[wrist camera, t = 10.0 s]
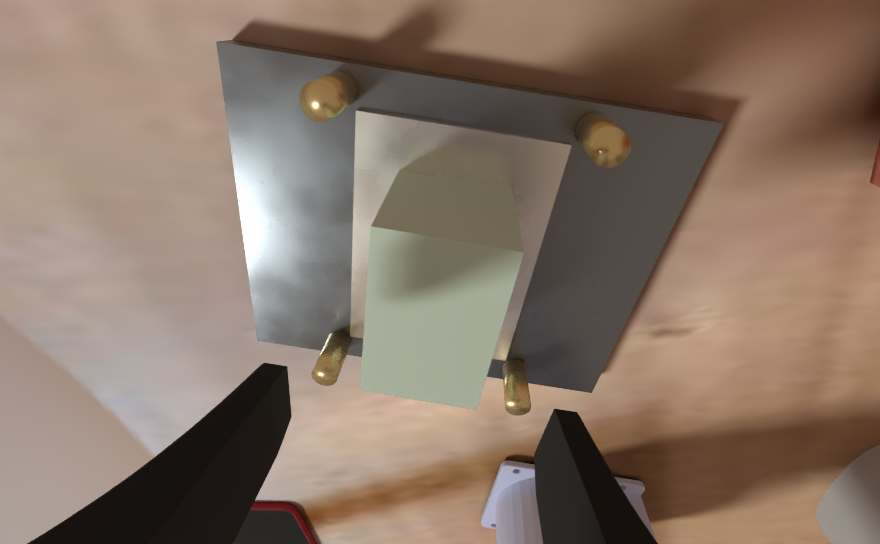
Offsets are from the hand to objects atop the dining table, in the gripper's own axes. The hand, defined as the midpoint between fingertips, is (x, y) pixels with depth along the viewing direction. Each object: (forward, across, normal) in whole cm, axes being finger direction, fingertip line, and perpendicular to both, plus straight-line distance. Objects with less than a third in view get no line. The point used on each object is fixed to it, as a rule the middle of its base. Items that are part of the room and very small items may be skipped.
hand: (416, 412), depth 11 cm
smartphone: (+10, +10, +33) cm, 36 cm away
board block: (+8, 0, 0) cm, 8 cm away
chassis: (+9, 0, 0) cm, 9 cm away
